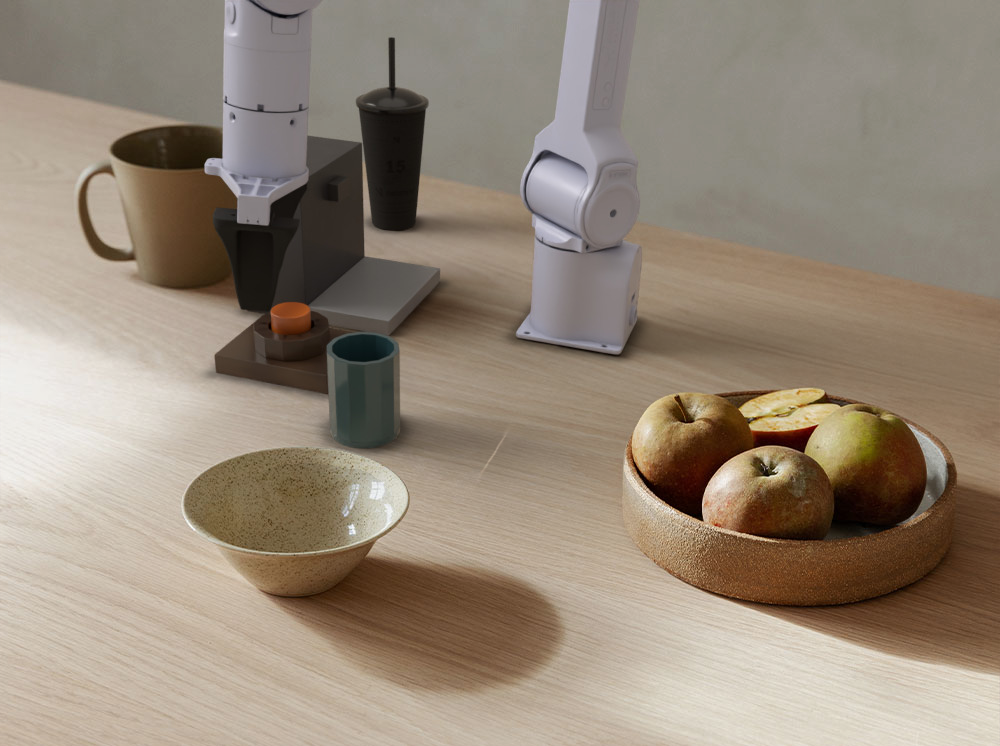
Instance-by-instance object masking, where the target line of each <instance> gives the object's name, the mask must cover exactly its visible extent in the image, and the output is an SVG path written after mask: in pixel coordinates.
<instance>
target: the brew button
mask: <svg viewBox="0 0 1000 746" xmlns="http://www.w3.org/2000/svg"><path fill="white" fill-rule="evenodd" d="M271 325H272V331H273V332H274V333H277V334H283V335H297V334H301V333H305V332H308V331H310V330H311V311H310V308H309V306H307V305H305V304H303V303H298V302H286V303H281V304H278V305H276V306H274V307H273V308H272V309H271Z"/></svg>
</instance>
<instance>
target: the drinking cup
mask: <svg viewBox="0 0 1000 746" xmlns="http://www.w3.org/2000/svg"><path fill="white" fill-rule="evenodd" d="M387 45H388V47H387V48H388V86H384V87H383V86H382V87H378V88H375V89H372V90H370V91H368V92H366V93H364V94H363V93H362V94H361V95H359V96H357V97H356V98H355V106H356V107H357V108H358V113H359V122H360V131H361V139H362V150H363V156H364V164H365V166H364V167H365V174H366V182H367V190H368V191H367V192H368V198H369V208H370V216H371V217H370V218H371V224H372V225H373V226H374V227H375V228H378V229H380V230H385V231H386V230H387V231H403V230H407V229H410V228H412V227H414V226H415V225H416V222H417V214H418V213H417V212H418V202H419V201H418V200H419V192H420V191H419V189H420V180H421V179H420V177H421V169H422V168H421V167H422V157H423V145H424V136H425V135H424V134H425V124H426V112H427V109H428V107H429V104H430V100H429V99H428V98H427V97H426V96H424V95H422V94H420V93H417V92H416V91H413V90H411V89H408V88H405V87H400V86H396V38H395V37H393V36H389V37H388V43H387Z"/></svg>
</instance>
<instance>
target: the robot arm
mask: <svg viewBox="0 0 1000 746" xmlns="http://www.w3.org/2000/svg"><path fill="white" fill-rule="evenodd" d="M322 2H323V0H224V28H223V65H222V66H223V73H222V75H223V78H222V80H223V81H222V158H218V157H211V158H207V159H206V161H205V163H204V173H205V174H206V175H211V176H218V177H220V178H221V180H222V181H223V182H224V183H225V185H226V186H227V187H228V189H230V191H231V192H232V193H233V194H234V196H235V197H236V199H237V207H236V208H229V207H227V208H226V207H215V209H214V212H213V213H212V223H213V227H214V230H215V232H216V233H217V236H218V237H219V238H220V240H221V242H222V245H223V247H224V249H225V251H226V254H227V257H228V261H229V264H230V268H231V272H232V273H231V274H232V277H233V283H234V284H233V285H234V289H235V293H236V299H237V302H238V305H239V308H240V310H242V311H247V310H252V311H266V312H268V311H270V310H271V307H272V304H273V301H274V297H275V293H276V288H277V283H278V278H279V273H280V270H281V267H282V264H283V260H284V256H285V252H286V249H287V247H288V245H289V243H290V242H291V240H292V238H293V237H294V235H295V233H296V231H297V229H298V227H299V223H300V219H294V218H293V217H294V214H295V211H296V209H297V207H298V204H299V202H300V200H301V199H302V197H303V195H304V193H305V192H306V190H307V187H308V176H309V169H308V168H307V166H306V157H307V136H308V133H309V104H310V85H311V83H310V82H311V80H310V79H311V63H312V62H311V61H312V60H311V58H312V30H313V29H312V27H313V10H315V9H316V8H318V6H320V4H321V3H322ZM639 7H640V0H569V3H568V11H567V19H566V26H565V35H564V42H563V43H564V44H563V49H562V57H561V66H560V74H559V81H558V89H557V96H556V97H557V98H556V105H555V115H554V119H553V121H552V122H550V124H548V125H546V126H545V127H544V128H543V129H542V130H541V131H540V132H538V133H537V134H536V135H535V137H534V141H533V142H534V143H533V149H532V150H533V151H532V154H531V156H530V158H529V161H528V163H527V165H526V167H525V168H524V170H523V173H522V175H521V179H520V186H519V191H520V192H519V193H520V199H521V202H522V204H523V206H524V207H525V208H526V210H527V212H529V213H530V214H531V215H532V216H531V227H532V228H534V241H533V243H534V244H533V245H534V246H533V261H532V262H533V264H532V281H531V297H530V298H531V299H530V311H529V313H528V315H526V317H525V319H524V320H523V322H521V324H520V326H518V328H517V330H516V332H515V336H516V338H518V339H523V340H528V341H535V342H540V343H545V344H546V343H547V344H552V345H558V346H564V347H570V348H576V349H580V350H581V349H582V350H587V351H593V352H599V353H604V354H611V355H620V354H622V352H623V350H624V348H625V346H626V344H627V342H628V340H629V338H630V335H631V333H632V332H633V330H634V328H635V326H636V323H637V321H638V303H639V297H640V296H639V294H640V285H641V275H642V267H643V266H642V265H643V247H642V245H641V244H638V243H634V242H631V241H627V240H626V239H625V238H626V237H627V236H628V235H629V234H630V232H632V229H633V228H634V226H635V224H636V222H637V219H638V216H639V215H640V208H641V195H640V192H639V187H638V181H637V175H638V168H639V160H638V158H637V155H636V154H635V152H634V151H633V149H632V147H631V145H630V144H629V142H628V140H627V139H626V137H625V136H624V134H623V132H622V129H621V124H622V119H623V112H624V105H625V98H626V92H627V85H628V78H629V72H630V66H631V59H632V52H633V45H634V41H635V33H636V26H637V19H638V13H639V9H640V8H639Z"/></svg>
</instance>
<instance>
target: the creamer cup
mask: <svg viewBox="0 0 1000 746" xmlns="http://www.w3.org/2000/svg"><path fill="white" fill-rule="evenodd" d="M400 355H401V351H400V344H399V342H398V341H396V340H395V338H393V337H392V336H391V335H389V336H387V335H383V334H380V333H374V332H364V331H357V332H355V333H348V334H344V335H342V336H339V337H336V338H334V339H333V340H332V341H331V342H330V343H329V344H328V345H327V369H328V413H329V433H330V437H332V439H333V440H334V441H335V442H337V443H338V444H340V445H342V446H345V447H348V448H354V449H374V448H379V447H382V446H385V445H388V444H390V443H392V442H393V441H394V440H395V439H396V438H397V437H398V436H399V435H400V431H401V361H400V360H401V356H400Z"/></svg>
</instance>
